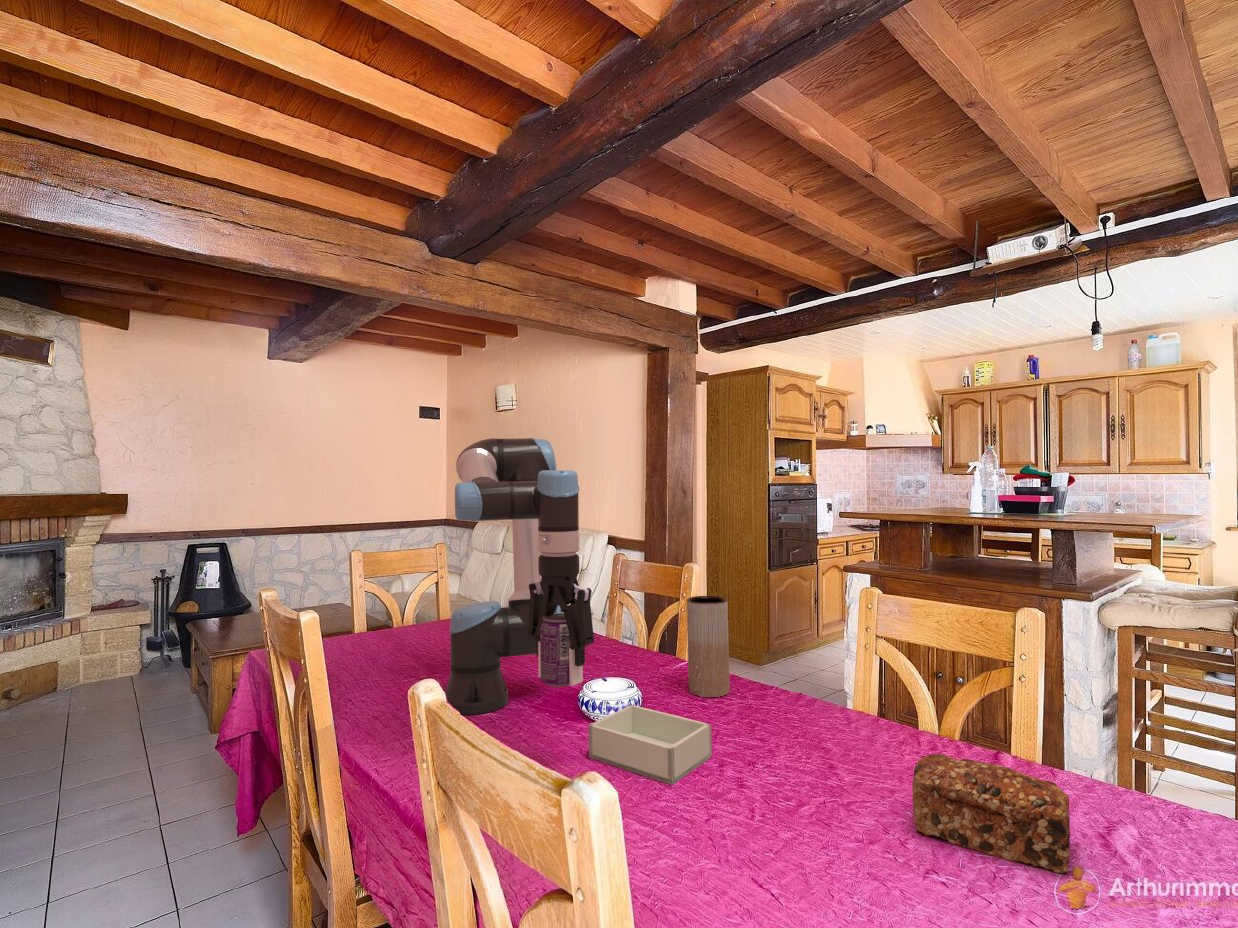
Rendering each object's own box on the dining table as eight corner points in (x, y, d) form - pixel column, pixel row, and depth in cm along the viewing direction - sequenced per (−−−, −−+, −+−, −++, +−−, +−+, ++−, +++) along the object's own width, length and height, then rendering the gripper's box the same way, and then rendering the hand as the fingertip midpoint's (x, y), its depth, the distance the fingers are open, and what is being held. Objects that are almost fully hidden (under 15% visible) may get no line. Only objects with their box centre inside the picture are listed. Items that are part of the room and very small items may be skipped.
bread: (911, 835, 89) (909, 765, 90) (925, 804, 98) (923, 740, 98) (1072, 882, 78) (1068, 801, 79) (1071, 842, 87) (1068, 769, 87)
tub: (589, 757, 117) (588, 725, 117) (632, 734, 127) (631, 704, 128) (672, 784, 105) (671, 749, 106) (711, 756, 116) (711, 724, 116)
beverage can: (585, 678, 116) (584, 613, 116) (570, 690, 109) (569, 622, 109) (551, 675, 118) (550, 611, 118) (534, 686, 111) (533, 619, 112)
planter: (711, 701, 146) (709, 604, 147) (680, 691, 153) (678, 599, 154) (738, 691, 153) (735, 598, 153) (707, 682, 160) (704, 594, 161)
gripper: (506, 552, 117) (507, 674, 117) (586, 559, 105) (588, 696, 104) (535, 548, 123) (536, 664, 123) (614, 554, 111) (615, 684, 110)
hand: (560, 679), depth 113 cm, fingers closed on beverage can, 7 cm apart
